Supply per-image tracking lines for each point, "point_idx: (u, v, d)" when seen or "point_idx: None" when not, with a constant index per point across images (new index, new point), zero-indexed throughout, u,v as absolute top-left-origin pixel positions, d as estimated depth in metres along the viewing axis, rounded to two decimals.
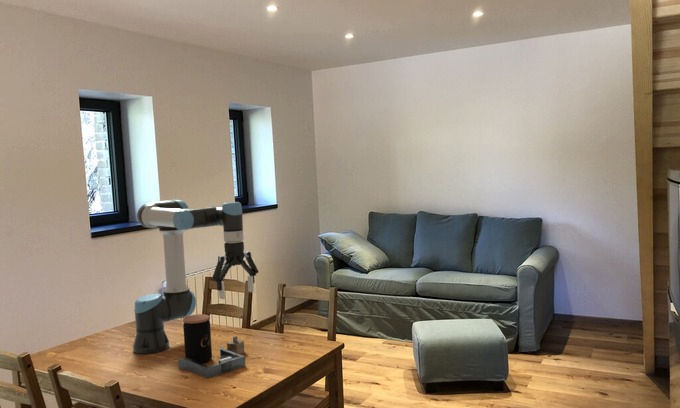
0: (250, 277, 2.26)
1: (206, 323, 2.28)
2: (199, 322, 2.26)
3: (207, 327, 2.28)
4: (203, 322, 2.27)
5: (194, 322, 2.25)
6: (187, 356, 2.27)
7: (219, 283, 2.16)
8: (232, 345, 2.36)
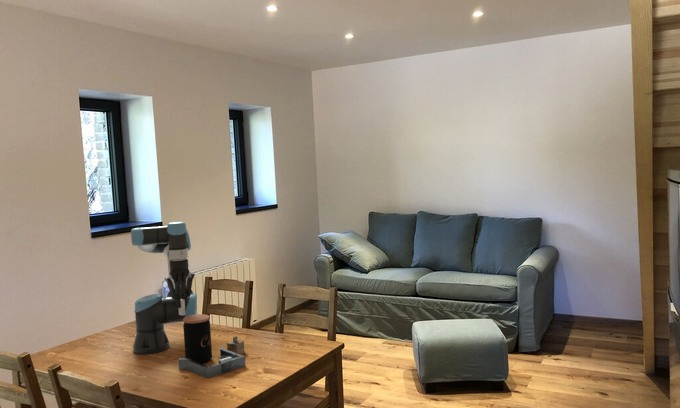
0: None
1: (206, 323, 2.28)
2: (199, 322, 2.26)
3: (207, 327, 2.28)
4: (203, 322, 2.27)
5: (194, 322, 2.25)
6: (187, 356, 2.27)
7: (178, 301, 2.36)
8: (232, 345, 2.36)
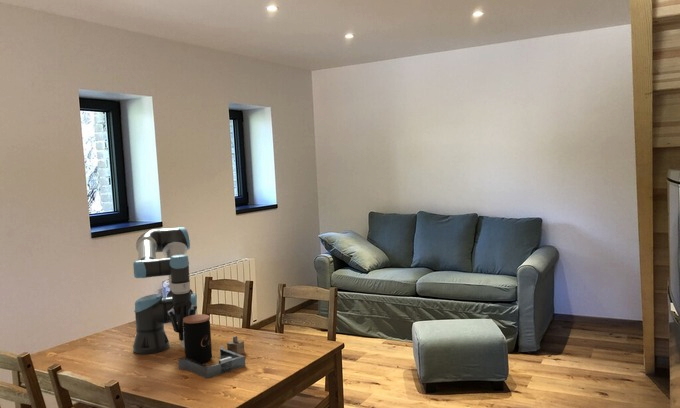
0: None
1: (206, 323, 2.28)
2: (199, 322, 2.26)
3: (207, 327, 2.28)
4: (203, 322, 2.27)
5: (194, 322, 2.25)
6: (187, 356, 2.27)
7: (181, 334, 2.37)
8: (232, 345, 2.36)
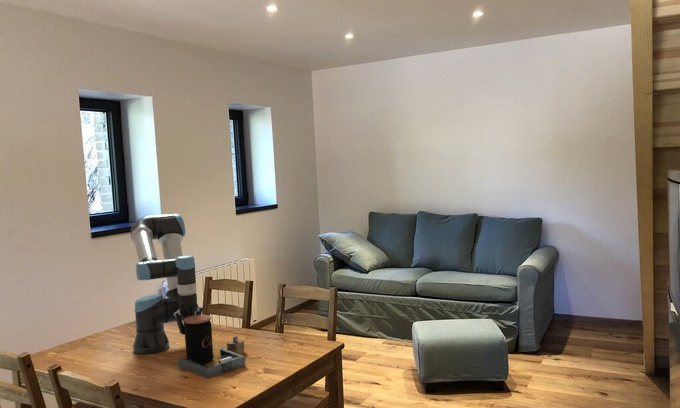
0: None
1: (207, 323, 2.27)
2: (200, 322, 2.25)
3: (208, 327, 2.27)
4: (204, 322, 2.26)
5: (195, 322, 2.24)
6: (188, 356, 2.26)
7: None
8: (232, 345, 2.36)
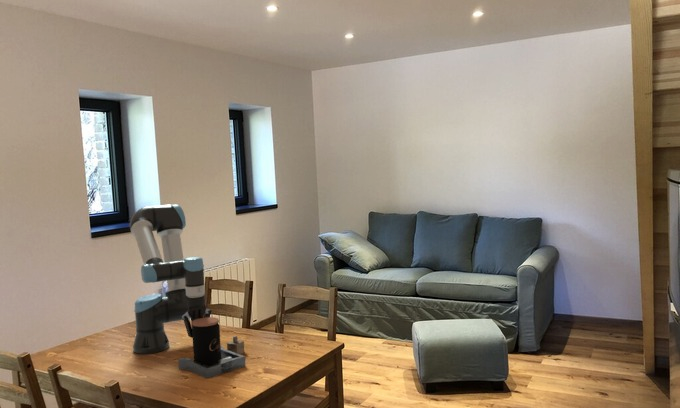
0: None
1: (215, 326, 2.22)
2: (207, 325, 2.20)
3: (216, 331, 2.22)
4: (212, 325, 2.21)
5: (202, 325, 2.20)
6: (195, 360, 2.22)
7: None
8: (232, 345, 2.36)
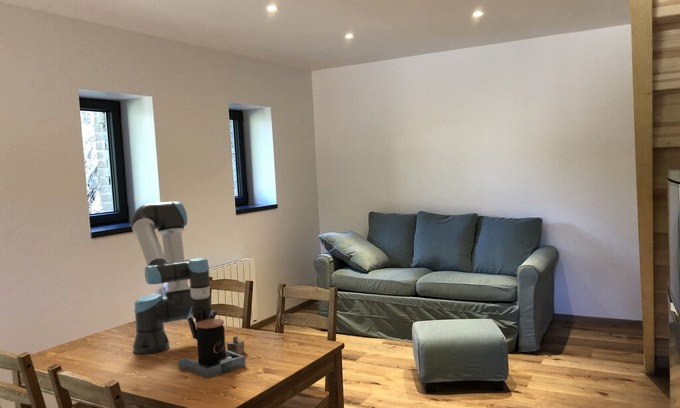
0: None
1: (219, 328, 2.20)
2: (212, 327, 2.17)
3: (220, 333, 2.20)
4: (216, 327, 2.18)
5: (206, 327, 2.17)
6: (200, 362, 2.19)
7: None
8: (232, 345, 2.36)
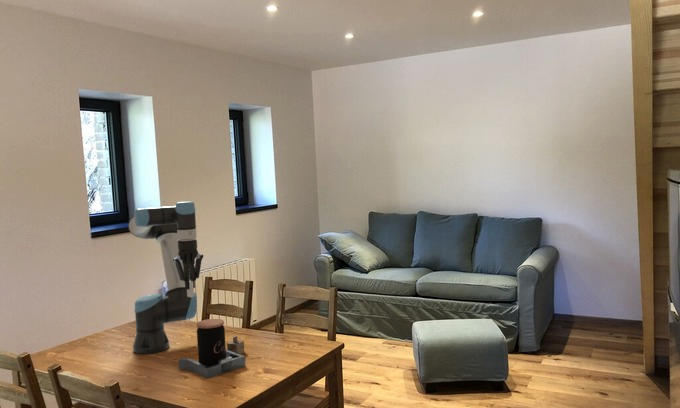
0: None
1: (220, 328, 2.19)
2: (212, 327, 2.17)
3: (221, 333, 2.20)
4: (216, 327, 2.18)
5: (207, 327, 2.17)
6: (200, 362, 2.19)
7: (187, 282, 2.30)
8: (232, 345, 2.36)
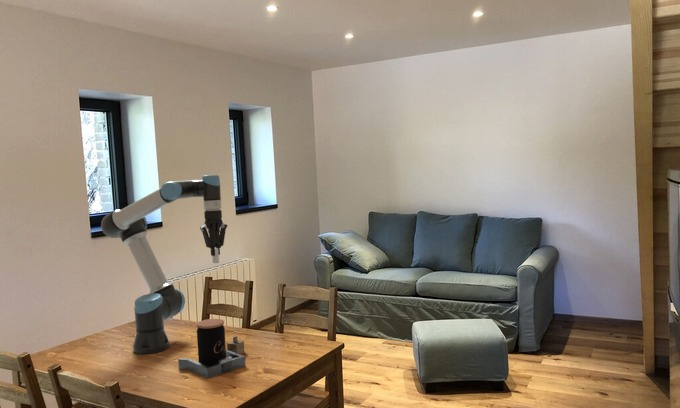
0: None
1: (220, 328, 2.19)
2: (212, 327, 2.17)
3: (221, 333, 2.20)
4: (216, 327, 2.18)
5: (207, 327, 2.17)
6: (200, 362, 2.19)
7: (212, 249, 2.50)
8: (232, 345, 2.36)
